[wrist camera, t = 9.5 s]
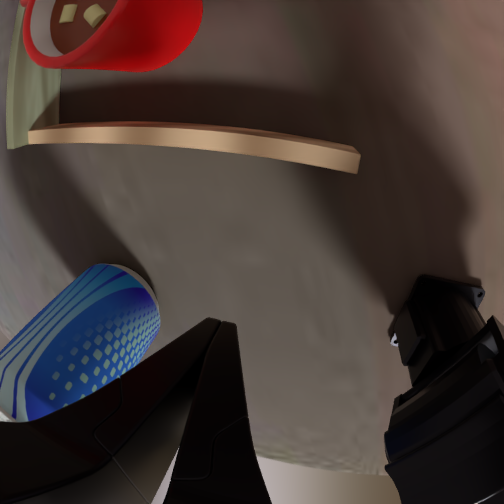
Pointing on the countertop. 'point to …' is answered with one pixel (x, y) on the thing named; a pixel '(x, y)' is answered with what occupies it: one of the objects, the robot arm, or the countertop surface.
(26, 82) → the wooden box
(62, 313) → the beer can
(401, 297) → the countertop surface
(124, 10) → the mug
